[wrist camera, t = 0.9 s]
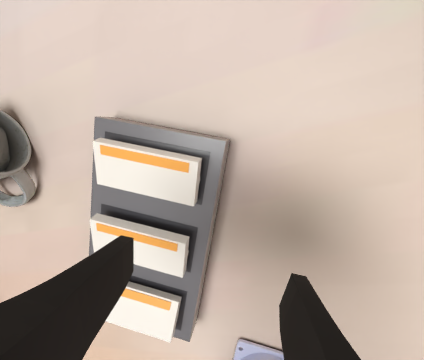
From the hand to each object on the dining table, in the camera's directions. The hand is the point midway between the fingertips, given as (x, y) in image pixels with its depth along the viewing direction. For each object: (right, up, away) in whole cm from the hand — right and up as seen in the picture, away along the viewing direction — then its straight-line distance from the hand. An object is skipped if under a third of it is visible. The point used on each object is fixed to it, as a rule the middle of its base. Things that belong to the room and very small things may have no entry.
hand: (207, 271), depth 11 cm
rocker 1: (-5, +5, +10) cm, 12 cm away
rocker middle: (-6, -2, +12) cm, 13 cm away
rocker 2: (-8, -8, +13) cm, 18 cm away
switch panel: (-6, -1, +15) cm, 16 cm away
